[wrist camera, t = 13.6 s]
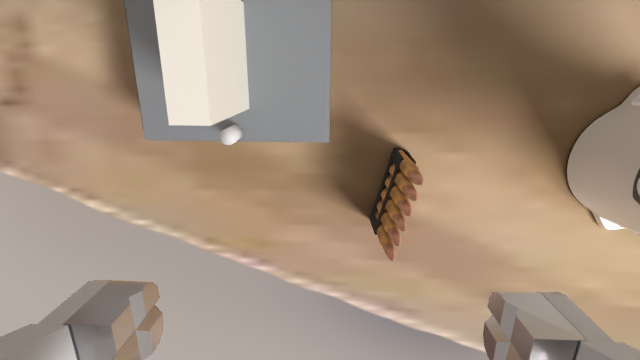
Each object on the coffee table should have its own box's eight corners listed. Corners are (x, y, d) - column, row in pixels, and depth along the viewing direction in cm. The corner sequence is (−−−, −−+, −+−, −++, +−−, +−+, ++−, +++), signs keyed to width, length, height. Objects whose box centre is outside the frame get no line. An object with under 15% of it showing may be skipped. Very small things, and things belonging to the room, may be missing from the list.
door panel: (243, 2, 33) (196, -36, 21) (249, 108, 36) (210, 125, 24) (212, 2, 33) (148, -36, 21) (220, 108, 36) (168, 125, 24)
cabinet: (331, -18, 39) (332, -52, 28) (329, 130, 44) (329, 148, 33) (154, -18, 39) (90, -51, 29) (172, 128, 45) (123, 145, 34)
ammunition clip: (394, 147, 44) (416, 172, 33) (407, 150, 45) (434, 177, 33) (369, 219, 48) (381, 265, 36) (382, 222, 48) (398, 269, 36)
